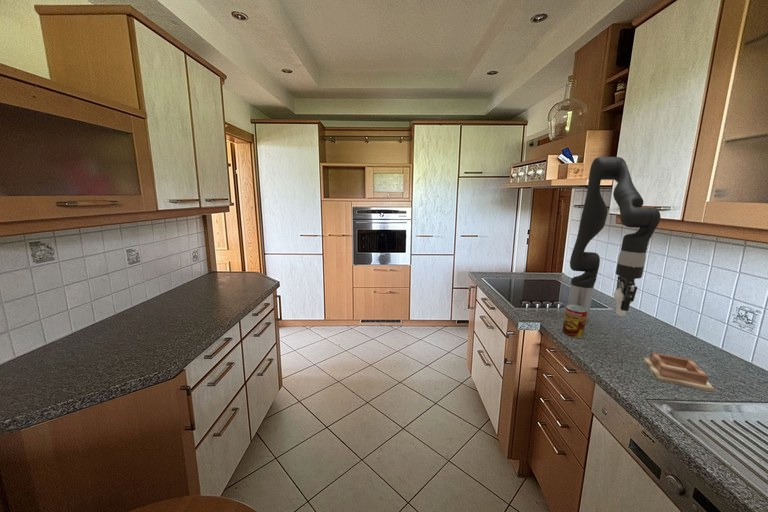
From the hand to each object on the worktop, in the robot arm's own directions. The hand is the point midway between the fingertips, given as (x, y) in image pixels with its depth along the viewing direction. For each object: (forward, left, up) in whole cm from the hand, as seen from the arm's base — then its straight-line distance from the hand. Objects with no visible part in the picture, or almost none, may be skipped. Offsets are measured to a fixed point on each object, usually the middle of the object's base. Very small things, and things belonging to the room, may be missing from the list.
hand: (621, 307), depth 111 cm
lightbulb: (0, 0, -4) cm, 4 cm away
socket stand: (+7, +16, -19) cm, 26 cm away
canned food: (-12, -12, -19) cm, 25 cm away
